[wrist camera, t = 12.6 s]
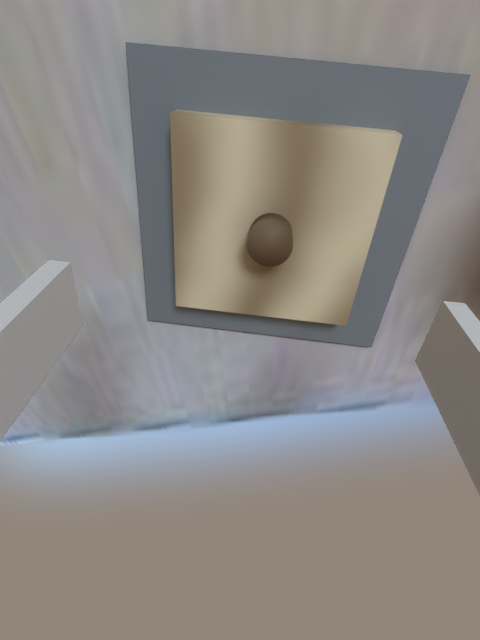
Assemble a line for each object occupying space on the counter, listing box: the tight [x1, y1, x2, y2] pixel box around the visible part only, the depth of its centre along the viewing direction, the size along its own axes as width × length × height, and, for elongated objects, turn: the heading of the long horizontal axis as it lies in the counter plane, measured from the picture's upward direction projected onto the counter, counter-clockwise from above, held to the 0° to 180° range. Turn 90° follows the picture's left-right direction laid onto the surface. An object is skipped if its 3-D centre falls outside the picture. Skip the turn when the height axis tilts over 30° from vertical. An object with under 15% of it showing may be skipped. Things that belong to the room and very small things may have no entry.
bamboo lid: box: [170, 110, 402, 326], centre depth 20 cm, size 11×11×3 cm
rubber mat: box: [126, 42, 470, 347], centre depth 22 cm, size 16×16×1 cm
